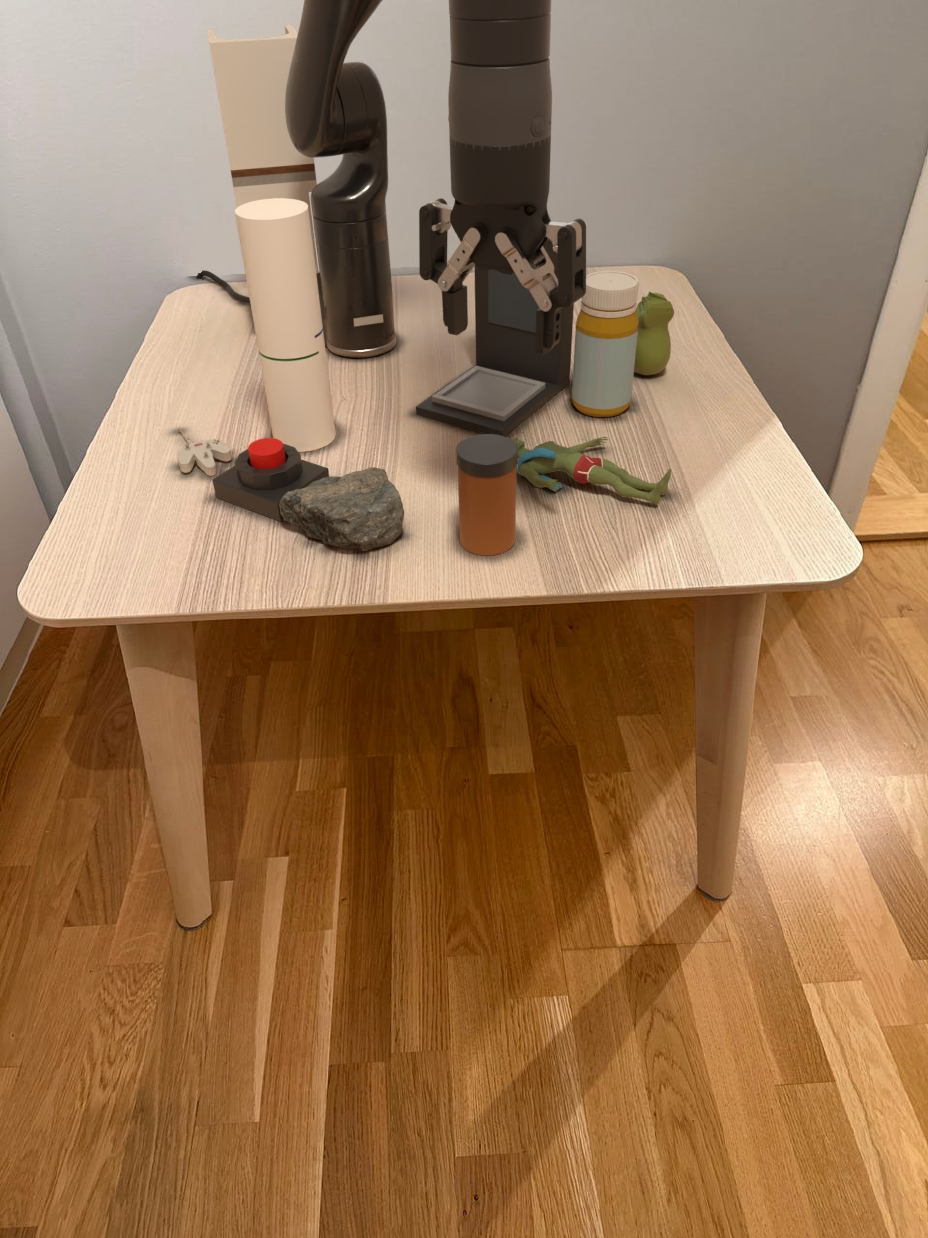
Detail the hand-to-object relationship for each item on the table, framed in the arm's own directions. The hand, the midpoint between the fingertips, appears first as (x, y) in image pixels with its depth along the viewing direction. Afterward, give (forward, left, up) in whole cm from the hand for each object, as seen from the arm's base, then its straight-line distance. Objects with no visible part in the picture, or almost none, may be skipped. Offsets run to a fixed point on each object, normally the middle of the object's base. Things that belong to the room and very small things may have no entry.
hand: (500, 341), depth 79 cm
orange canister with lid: (-1, -1, -20) cm, 20 cm away
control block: (-25, -5, -20) cm, 32 cm away
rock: (-14, -7, -20) cm, 25 cm away
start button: (-25, -5, -16) cm, 30 cm away
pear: (-3, +41, -20) cm, 45 cm away
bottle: (-4, +30, -20) cm, 36 cm away
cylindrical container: (-30, +6, -20) cm, 36 cm away
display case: (-56, +34, -20) cm, 68 cm away
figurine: (+2, +13, -20) cm, 24 cm away
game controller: (-38, -3, -20) cm, 43 cm away
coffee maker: (-16, +25, -20) cm, 35 cm away
